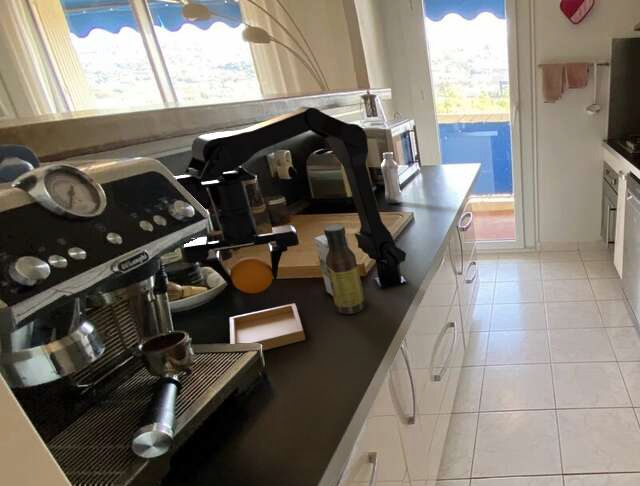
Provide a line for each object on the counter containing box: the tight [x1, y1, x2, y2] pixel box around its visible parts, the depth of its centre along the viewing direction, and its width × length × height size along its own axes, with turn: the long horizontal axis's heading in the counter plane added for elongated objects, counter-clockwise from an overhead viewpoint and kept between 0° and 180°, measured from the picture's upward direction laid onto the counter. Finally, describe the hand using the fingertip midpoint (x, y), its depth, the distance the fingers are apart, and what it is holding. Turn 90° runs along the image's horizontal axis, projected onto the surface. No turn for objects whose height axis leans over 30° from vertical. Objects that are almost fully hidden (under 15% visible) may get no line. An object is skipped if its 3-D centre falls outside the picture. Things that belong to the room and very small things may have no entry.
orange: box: [229, 256, 274, 294], centre depth 89 cm, size 7×7×7 cm
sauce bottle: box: [323, 224, 365, 315], centre depth 98 cm, size 6×6×20 cm
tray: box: [229, 302, 306, 351], centre depth 93 cm, size 14×13×2 cm
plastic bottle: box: [380, 151, 403, 204], centre depth 180 cm, size 6×7×20 cm
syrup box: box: [313, 234, 350, 297], centre depth 107 cm, size 6×6×14 cm
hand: (254, 283), depth 89 cm, fingers closed on orange, 7 cm apart
